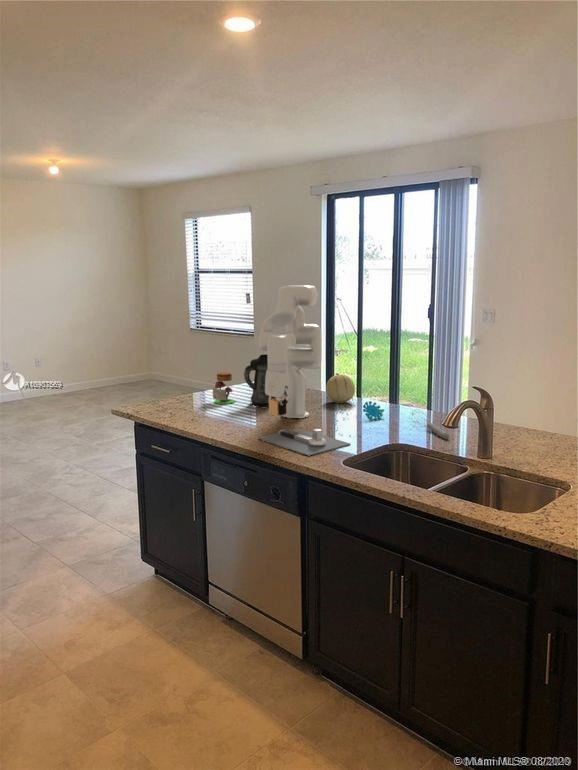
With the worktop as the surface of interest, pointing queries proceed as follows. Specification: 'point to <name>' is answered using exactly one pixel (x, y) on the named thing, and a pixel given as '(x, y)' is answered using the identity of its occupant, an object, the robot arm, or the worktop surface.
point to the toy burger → (220, 393)
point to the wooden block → (275, 407)
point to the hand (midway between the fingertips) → (278, 412)
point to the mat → (302, 446)
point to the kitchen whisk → (434, 428)
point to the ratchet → (313, 442)
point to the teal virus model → (373, 410)
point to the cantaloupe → (340, 388)
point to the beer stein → (258, 381)
